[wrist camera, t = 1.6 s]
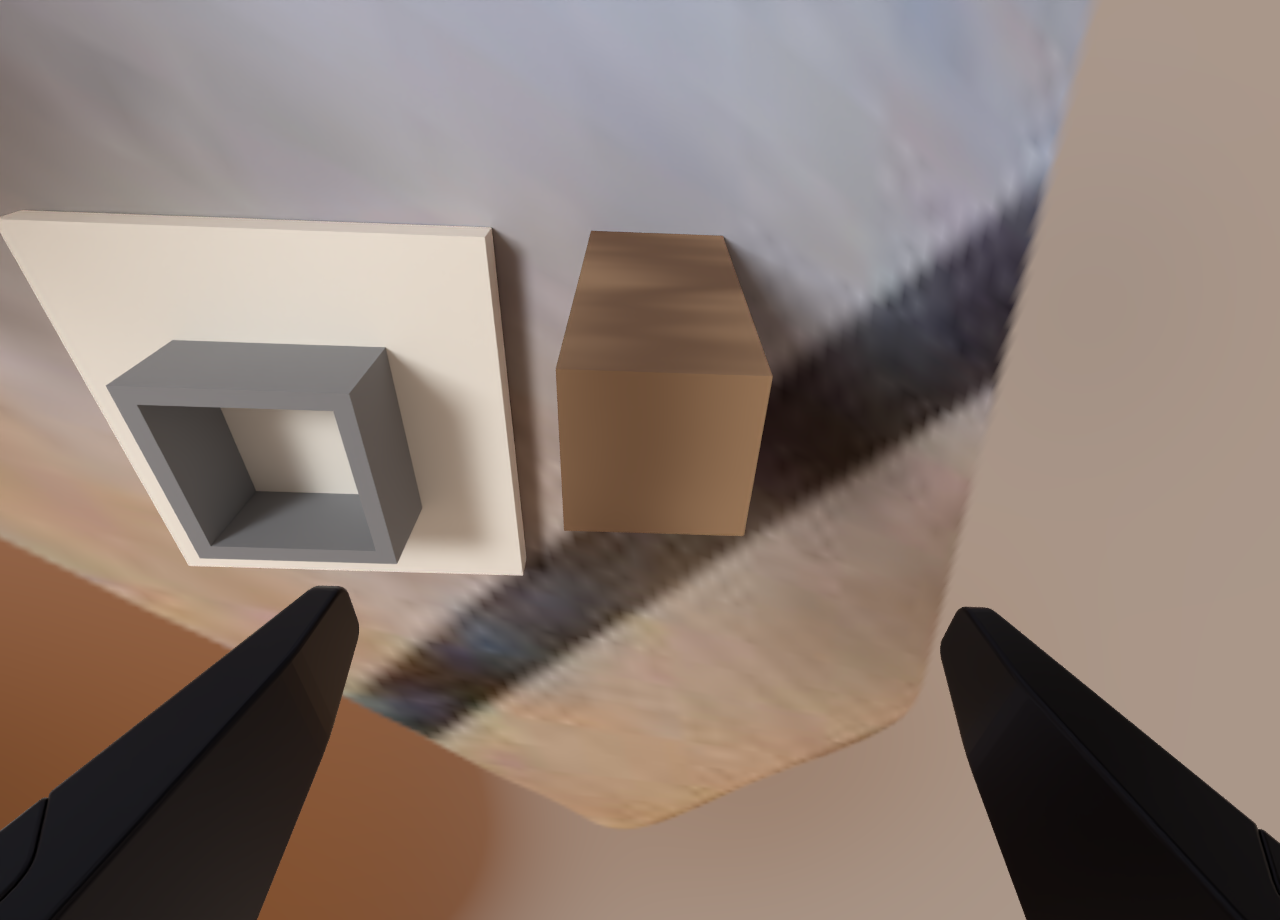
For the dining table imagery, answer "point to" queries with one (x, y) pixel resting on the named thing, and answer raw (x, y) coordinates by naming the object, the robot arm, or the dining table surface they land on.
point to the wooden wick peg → (659, 389)
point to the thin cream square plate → (295, 383)
